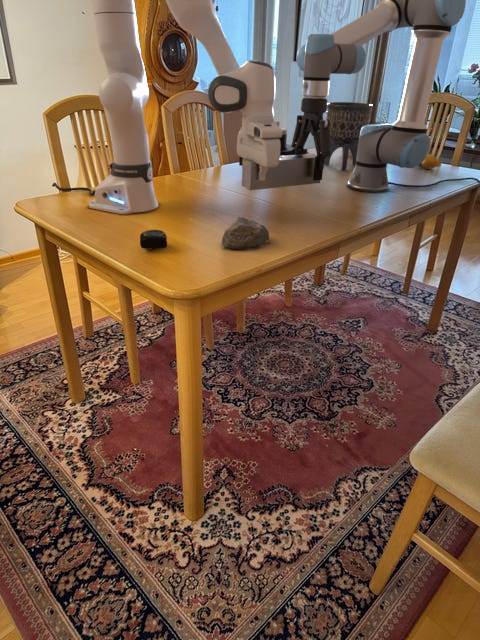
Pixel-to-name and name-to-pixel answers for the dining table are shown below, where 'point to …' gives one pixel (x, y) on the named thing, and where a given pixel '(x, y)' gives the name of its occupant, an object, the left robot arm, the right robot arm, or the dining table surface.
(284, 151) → the mechanical component
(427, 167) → the toy
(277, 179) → the bar
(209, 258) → the dining table surface
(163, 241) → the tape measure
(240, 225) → the rock
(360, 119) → the planter
